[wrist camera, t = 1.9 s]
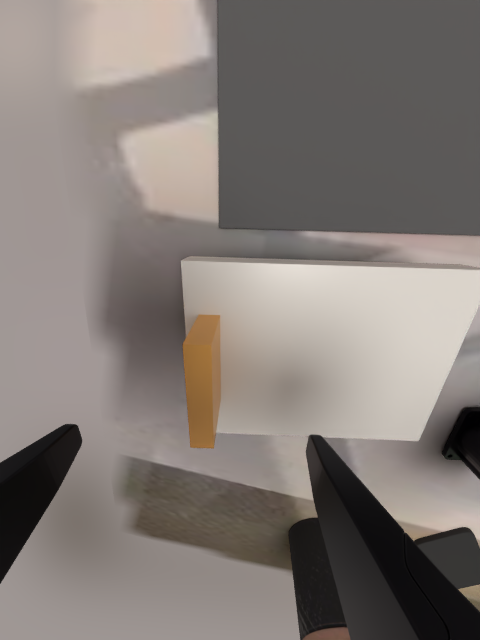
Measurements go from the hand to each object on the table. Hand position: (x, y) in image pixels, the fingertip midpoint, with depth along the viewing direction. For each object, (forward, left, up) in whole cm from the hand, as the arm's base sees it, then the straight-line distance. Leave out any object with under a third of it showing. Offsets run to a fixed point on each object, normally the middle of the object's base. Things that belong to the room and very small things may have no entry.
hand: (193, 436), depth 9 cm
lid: (0, -6, -7) cm, 10 cm away
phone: (-35, -32, -12) cm, 49 cm away
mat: (+15, -9, -11) cm, 21 cm away
